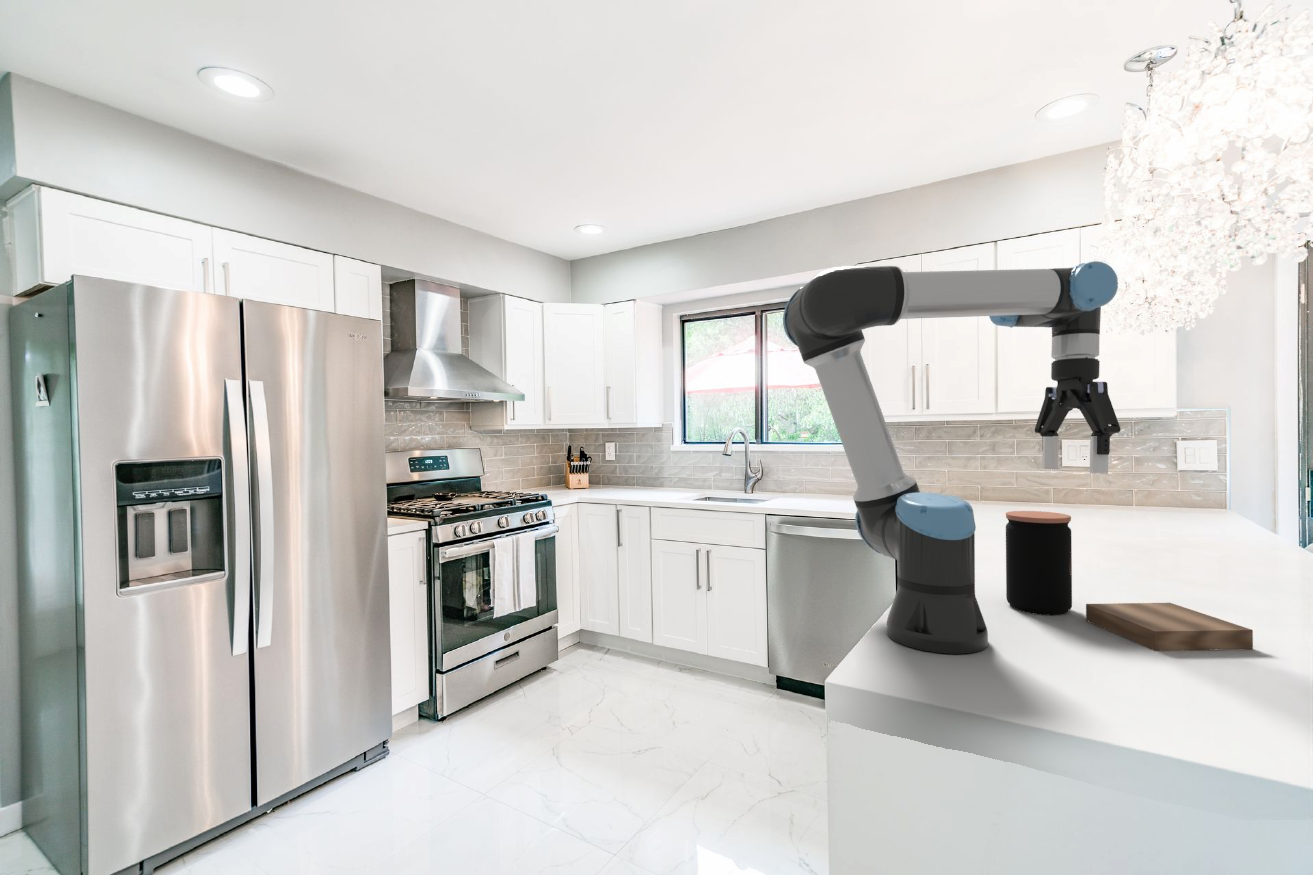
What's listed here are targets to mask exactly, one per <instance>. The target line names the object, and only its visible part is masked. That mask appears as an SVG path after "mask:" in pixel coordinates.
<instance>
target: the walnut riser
mask: <svg viewBox="0 0 1313 875" xmlns="http://www.w3.org/2000/svg"><path fill="white" fill-rule="evenodd" d="M1085 617H1086V618H1085V621H1086V622H1088V621H1089V623H1090V622H1091V624H1093V623H1094V624H1093V625H1095V626H1097V627H1100V628H1102V629H1104V628H1105V630H1106V631H1110V632H1111V633H1114V634H1116V635H1119V636H1121V637H1122V636H1123V637H1122V638H1125V639H1127V640H1129V641H1132V642H1134V643H1136V644H1138V643H1139V644H1138V645H1141V646H1143V647H1146V648H1148V649H1150V650H1152V649H1153V651H1154V652H1160V651H1161V652H1162V651H1163V652H1165V651H1167V652H1168V651H1169V650H1177V651H1211V650H1210V649H1218V650H1217V651H1222V650H1221V649H1247V650H1254V648H1253V647H1254V646H1253V645H1254V644H1253V643H1254V640H1253V639H1254V636H1253V635H1254V634H1253V633H1254V632H1253V631H1254V630H1253V629H1250V628H1248V627H1246V626H1245V627H1244V626H1242V625H1238V624H1236V623H1233V622H1230V621H1227V620H1223V619H1220V618H1217V617H1215V616H1212V615H1208V614H1206V613H1203V612H1199V611H1197V610H1193V609H1190V608H1188V607H1184V606H1182V605H1178V604H1176V603H1172V602H1135V603H1134V602H1131V603H1129V602H1125V603H1123V602H1121V603H1116V602H1115V603H1086V604H1085ZM1219 649H1220V650H1219ZM1169 652H1170V651H1169Z"/></svg>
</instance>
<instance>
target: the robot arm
mask: <svg viewBox="0 0 1313 875" xmlns="http://www.w3.org/2000/svg"><path fill="white" fill-rule="evenodd" d="M1118 279H1119V278H1118V276H1117V272H1116V271H1115V269H1113V267H1111V265H1109V264H1108V263H1106V262H1103V261H1098V260H1097V261H1095V260H1094V261H1089V262H1086V263H1085V262H1084V263H1080V264H1078V265H1075V266H1073V267H1062V268H1061V267H1060V268H1059V267H1058V268H1056V267H1055V268H1027V269H1026V268H1025V269H1023V268H1020V269H985V270H984V269H981V270H978V269H977V270H976V269H975V270H974V269H973V270H943V271H942V270H939V271H935V270H934V271H930V270H929V271H903V269H901V268H900V266H898V265H882V266H881V265H868V266H863V265H860V266H857V265H855V266H842V267H840V266H839V267H833V268H831V269H830V268H829V269H827V270H824V271H821V272H820V273H818V274H817V275H815V276H814V277H813V278H812V279H811V280H810V281H809V282H807V283H806V284H804V285H803V286H802V287H800V288H799V289H797V290H796V291H795V292H794V293H793V294H792V295H791V297H790V298H789V300H788V302H787V303H786V306H785V308H784V310H783V315H782V325H783V329H784V332H785V335H786V337H787V338H788V339H789V341H790V342H791V343H792V344H793V345H795V346H796V347H798V350H799V353H800V355H801V359H802V362H803V363H804V364H805V365H806V366H809V367H811V368H813V369H814V371H815V373H816V376H817V379H818V381H819V384H820V387H821V390H822V393H823V394H824V398H825V400H826V403H827V406H828V409H829V411H830V415H831V417H832V419H833V422H834V425H835V428H836V429H837V433H838V436H839V439H840V442H841V444H842V447H843V450H844V453H845V455H846V457H847V458H846V459H847V460H848V463H849V466H850V470H851V471H852V474H853V478H854V480H855V483H856V486H857V487H856V490H855V492H854V494H853V496H852V498H853V501H854V504H855V507H856V512H855V519H854V520H855V527H856V530H857V533H858V535H859V537H860V538H861V539H862V541H863V542H864V543H865V544H866V545H868V547H869V548H871V549H872V550H873V551H875V552H876V553H878V554H880V555H883V556H886V557H889V558H891V559H894V560H896V562H897V563H896V564H897V587H896V588H897V590H896V591H895V595H894V598H893V601H892V604H891V607H890V609H889V612H888V616H887V619H886V634H887V636H888V637H889V638H890V639H891V640H893V642H896V643H898V644H901V645H904V646H905V647H909V648H912V649H915V650H920V651H924V652H926V651H927V652H931V653H939V654H940V653H941V654H953V655H954V654H970V653H971V654H972V653H978V652H980V651H984V650H985V649H987V647H988V646H989V639H988V638H989V637H988V636H989V635H988V633H989V632H988V628H987V624H986V621H985V618H984V616H983V613H982V611H981V608H980V605H979V602H978V599H977V597H976V587H975V585H976V583H975V582H976V578H975V577H976V576H975V574H976V572H975V571H976V568H975V567H976V566H975V564H976V563H975V562H976V559H975V556H976V555H975V554H976V552H975V551H976V550H975V549H976V548H975V547H976V546H975V544H976V543H975V541H976V540H975V538H976V537H975V536H976V535H975V532H976V530H977V529H976V527H977V526H976V522H975V515H974V509H973V506H972V505H971V503H969V502H968V501H966V500H964V499H962V498H961V497H957V496H954V495H949V494H942V493H936V492H921V490H920V488H919V484H918V483H917V480H916V478H915V477H913V476H911V475H908V474H907V473H905V472H904V470H903V467H902V464H901V462H900V460H899V456H898V454H897V451H896V448H895V445H894V442H893V439H892V436H891V434H890V431H889V428H888V425H887V423H886V420H885V417H884V415H883V412H882V408H881V407H880V406H881V405H880V404H879V401H878V398H877V394H876V392H875V390H874V387H873V384H872V382H871V379H870V375H869V373H868V370H867V368H866V364H865V361H864V359H863V356H862V353H861V350H862V348H863V346H864V344H865V342H866V338H865V336H864V333H863V330H865V329H868V328H869V329H870V328H874V327H881V326H882V327H883V326H894V325H896V324H898V322H899V321H900V320H904V319H905V320H907V319H908V320H911V319H912V320H913V319H938V318H939V319H940V318H941V319H942V318H943V319H944V318H965V317H969V318H971V317H989V320H990V321H991V322H992V324H993V325H996V326H1000V327H1008V328H1010V329H1011V328H1015V327H1017V328H1051V354H1050V355H1051V358H1052V359H1053V360H1054V361H1052V362H1051V369H1050V370H1051V371H1050V372H1051V374H1050V378H1051V380H1052V381H1055V382H1057V386H1047V387H1046V388H1045V390H1044V399H1043V401H1042V402H1043V403H1042V405H1041V409H1040V412H1039V415H1038V418H1037V421H1036V424H1035V428H1034V433H1035V434H1039V435H1040V436H1041V438H1042V439H1041V442H1042V444H1041V449H1042V450H1041V451H1042V456H1041V459H1042V460H1041V462H1042V463H1041V466H1042V468H1041V469H1042V470H1043V469H1044V470H1059V446H1060V445H1059V443H1060V442H1059V441H1060V440H1059V438H1060V435H1059V434H1058V431H1059V430H1060V428H1061V426H1062V424H1063V423H1064V421H1065V418H1066V417H1067V415H1068V414H1069V412H1070V411H1072V410H1074V409H1077V410H1079V411H1080V412H1081V415H1082V416H1083V418H1084V419H1085V421H1086V423H1087V425H1088V427H1089V428H1090V430H1091V432H1092V433H1091V434H1090V440H1089V474H1109V455H1110V446H1111V442H1110V441H1111V440H1110V439H1111V437H1112V436H1113V435H1114V434H1119V433H1120V432H1121V426H1120V423H1119V420H1118V417H1117V416H1116V413H1115V410H1114V406H1113V404H1112V401H1111V398H1110V396H1109V388H1108V383H1107V382H1106V381H1094V380H1097V379H1099V378H1100V360H1099V359H1097V357H1098V356H1100V335H1101V310H1102V308H1101V307H1103V306H1106V305H1107V304H1109V303H1110V302H1111V301H1112V300H1113V299H1114V298H1115V296H1116V294H1117V292H1118V288H1119V286H1118V285H1119V282H1118Z"/></svg>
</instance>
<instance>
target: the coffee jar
mask: <svg viewBox="0 0 1313 875" xmlns="http://www.w3.org/2000/svg"><path fill="white" fill-rule="evenodd" d="M1005 518H1006V519H1007V521H1008V522H1007V523H1006V524H1005V572H1006V573H1005V577H1006V579H1005V580H1006V581H1005V589H1006V592H1005V596H1006V597H1005V598H1006V601H1007V603H1008V604H1009V606H1010V607H1011V606H1012V607H1011V608H1013V609H1014V608H1015V610H1017V611H1019V610H1021V611H1020V612H1023V611H1024V613H1027V612H1028V614H1033V613H1034V615H1040V614H1041V615H1040V616H1061V615H1062V614H1063V615H1066V614H1068V613H1069V610H1071V609H1072V607H1073V572H1072V571H1073V567H1072V566H1073V565H1072V564H1073V563H1072V529H1071V527H1069V523H1070V522H1071V521H1072V517H1071V515H1069V514H1066V513H1060V512H1051V511H1041V510H1040V511H1039V510H1038V511H1036V510H1013V511H1008V512H1005ZM1063 615H1062V616H1063Z"/></svg>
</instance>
